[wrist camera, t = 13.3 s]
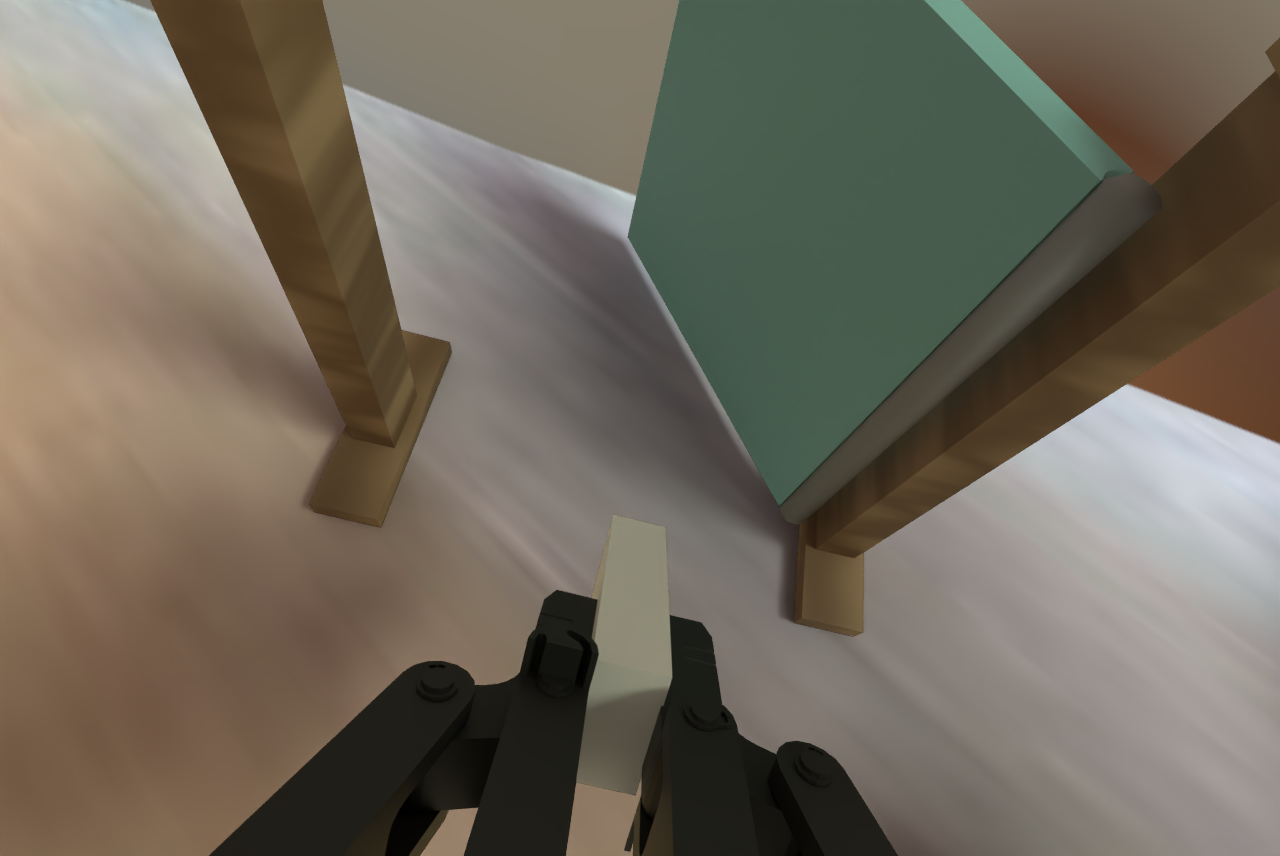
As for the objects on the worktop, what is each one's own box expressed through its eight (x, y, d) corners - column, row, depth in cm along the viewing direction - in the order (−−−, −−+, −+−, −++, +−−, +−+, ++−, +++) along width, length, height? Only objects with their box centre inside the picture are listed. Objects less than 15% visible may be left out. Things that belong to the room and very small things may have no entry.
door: (836, 508, 32) (1213, 196, 15) (789, 528, 31) (1134, 219, 14) (668, 228, 40) (793, -202, 22) (626, 237, 39) (721, -205, 21)
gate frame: (855, 454, 36) (1381, -39, 14) (853, 636, 31) (1657, 303, 9) (395, 339, 34) (199, -420, 13) (314, 512, 29) (-240, -250, 8)
